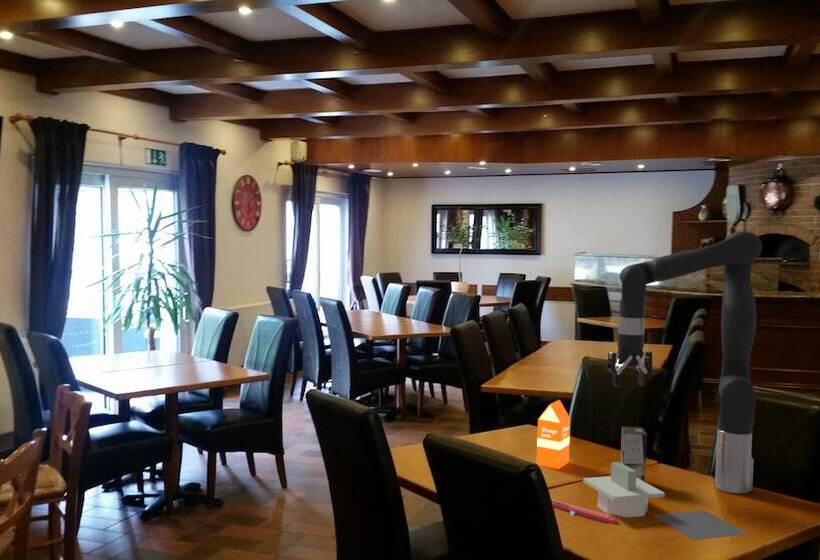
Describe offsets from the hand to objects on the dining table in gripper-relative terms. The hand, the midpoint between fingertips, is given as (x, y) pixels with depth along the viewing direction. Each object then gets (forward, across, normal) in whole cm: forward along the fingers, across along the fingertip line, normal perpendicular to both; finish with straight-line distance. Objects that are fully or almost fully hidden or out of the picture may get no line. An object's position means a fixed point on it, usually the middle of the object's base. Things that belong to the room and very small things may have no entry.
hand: (629, 386), depth 216 cm
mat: (+28, +3, +36) cm, 46 cm away
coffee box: (+29, 0, +4) cm, 29 cm away
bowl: (+28, +16, +21) cm, 39 cm away
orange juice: (+28, +14, -20) cm, 37 cm away
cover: (+23, +16, +21) cm, 35 cm away
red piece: (+29, +30, +20) cm, 46 cm away
